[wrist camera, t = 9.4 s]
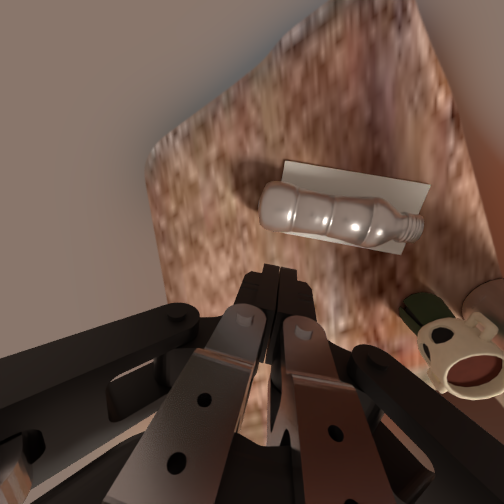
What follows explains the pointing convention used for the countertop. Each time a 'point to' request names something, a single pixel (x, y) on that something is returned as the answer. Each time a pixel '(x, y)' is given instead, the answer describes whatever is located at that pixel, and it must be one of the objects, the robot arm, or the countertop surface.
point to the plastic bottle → (336, 216)
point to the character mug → (455, 348)
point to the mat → (357, 193)
